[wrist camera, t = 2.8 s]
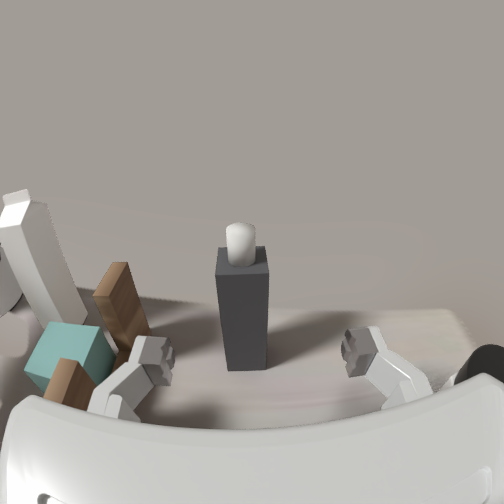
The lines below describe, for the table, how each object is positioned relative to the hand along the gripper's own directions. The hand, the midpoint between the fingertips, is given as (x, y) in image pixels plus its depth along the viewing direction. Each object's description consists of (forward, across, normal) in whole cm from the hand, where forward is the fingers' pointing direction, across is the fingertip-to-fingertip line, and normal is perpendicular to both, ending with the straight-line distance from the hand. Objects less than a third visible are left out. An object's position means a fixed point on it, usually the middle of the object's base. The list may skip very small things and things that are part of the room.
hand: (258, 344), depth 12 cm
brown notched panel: (+6, -15, -17) cm, 24 cm away
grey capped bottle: (+12, -1, -18) cm, 21 cm away
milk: (+16, -29, -18) cm, 37 cm away
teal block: (+6, -21, -17) cm, 28 cm away
